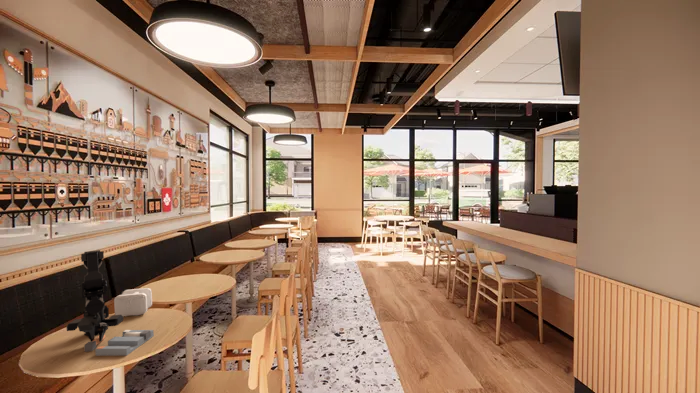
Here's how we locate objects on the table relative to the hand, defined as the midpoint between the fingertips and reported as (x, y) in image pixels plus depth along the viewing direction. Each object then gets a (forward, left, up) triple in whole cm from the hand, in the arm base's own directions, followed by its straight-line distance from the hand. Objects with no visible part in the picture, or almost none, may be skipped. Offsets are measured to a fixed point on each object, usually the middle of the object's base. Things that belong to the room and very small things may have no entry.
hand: (96, 341), depth 133 cm
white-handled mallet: (+15, +3, 0) cm, 15 cm away
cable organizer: (-8, +33, -1) cm, 34 cm away
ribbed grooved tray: (+14, -1, -1) cm, 14 cm away
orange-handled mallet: (0, 0, -1) cm, 1 cm away
